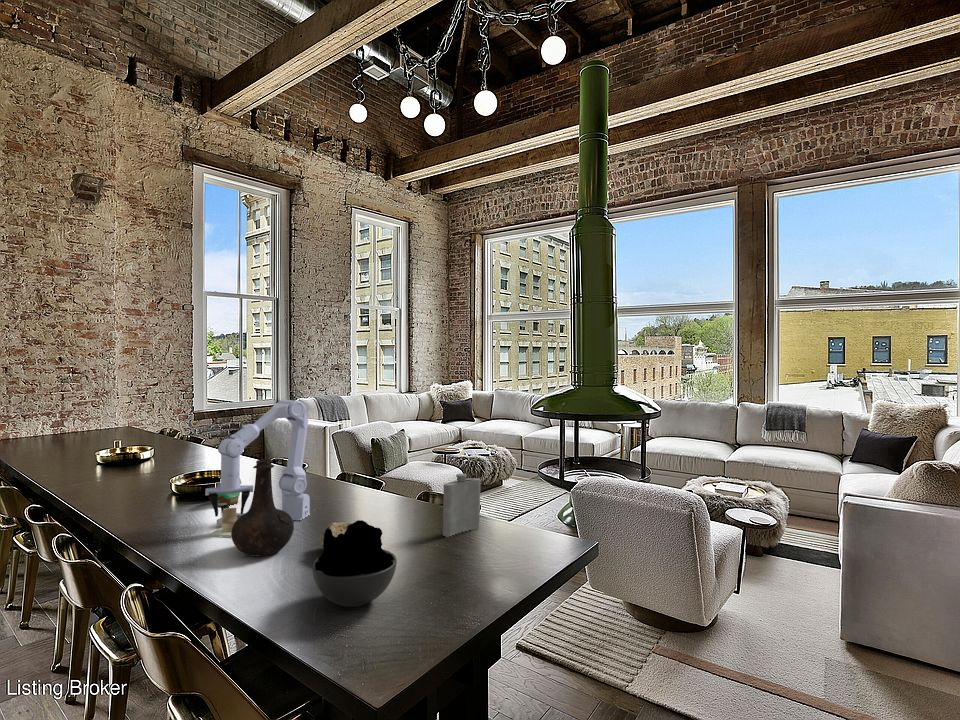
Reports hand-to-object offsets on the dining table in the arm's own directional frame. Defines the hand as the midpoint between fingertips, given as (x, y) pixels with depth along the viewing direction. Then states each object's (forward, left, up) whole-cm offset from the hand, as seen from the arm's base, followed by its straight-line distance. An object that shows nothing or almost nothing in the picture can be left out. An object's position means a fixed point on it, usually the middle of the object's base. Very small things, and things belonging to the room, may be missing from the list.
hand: (229, 514), depth 173 cm
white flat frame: (+1, -10, -6) cm, 11 cm away
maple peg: (0, 0, -5) cm, 5 cm away
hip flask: (-77, -16, -6) cm, 79 cm away
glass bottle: (-20, +14, -6) cm, 25 cm away
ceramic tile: (0, 0, -6) cm, 6 cm away
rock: (-47, +12, -7) cm, 49 cm away
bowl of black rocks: (-60, +42, -6) cm, 73 cm away
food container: (+20, -32, -6) cm, 39 cm away
